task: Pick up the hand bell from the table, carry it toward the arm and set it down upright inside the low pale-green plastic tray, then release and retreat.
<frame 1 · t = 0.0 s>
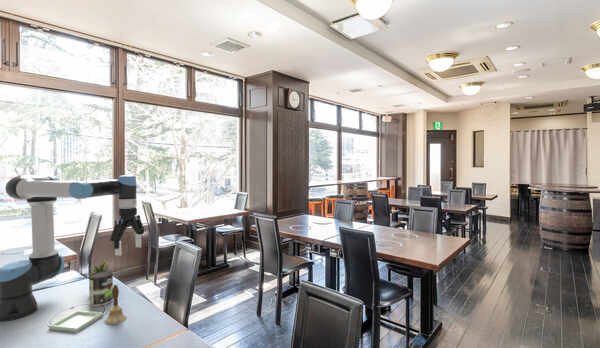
hand: (128, 251, 147), 28 cm above the table, fingers open, 13 cm apart
house plant: (100, 290, 169), on the table
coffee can: (101, 301, 155), on the table
tray: (77, 322, 134), on the table
hand bell: (115, 320, 137), on the table
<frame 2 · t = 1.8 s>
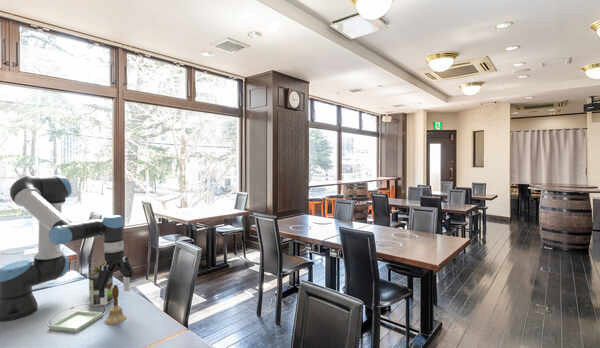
hand: (115, 297, 136), 10 cm above the table, fingers open, 13 cm apart
nothing on the table moved.
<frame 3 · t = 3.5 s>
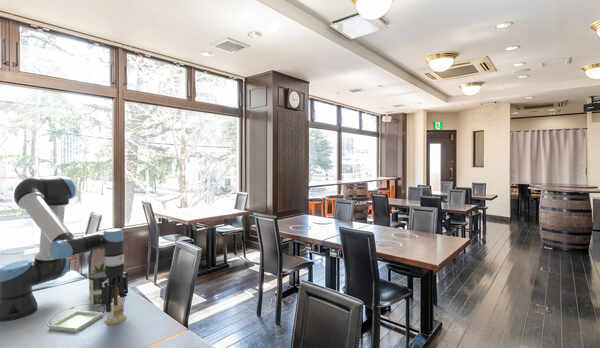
hand: (115, 314, 137), 2 cm above the table, fingers closed on hand bell, 6 cm apart
hand bell: (115, 320, 137), on the table, touching gripper
everything else where it was.
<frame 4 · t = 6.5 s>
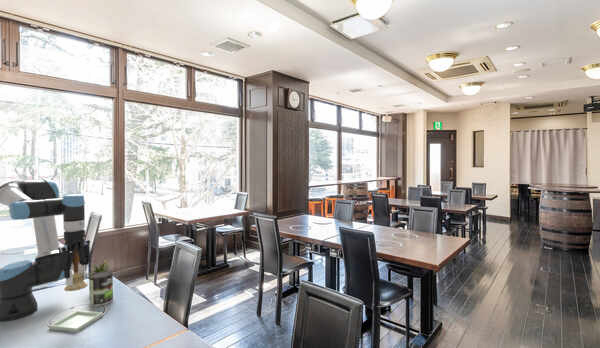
hand: (76, 282, 134), 18 cm above the table, fingers closed on hand bell, 6 cm apart
hand bell: (76, 287, 134), point 16 cm above the table, touching gripper
everything else where it was.
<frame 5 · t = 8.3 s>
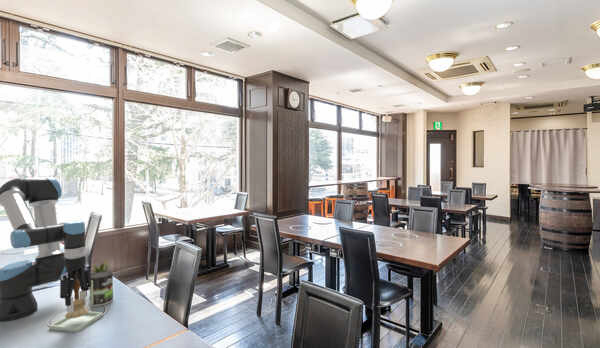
hand: (76, 308, 134), 6 cm above the table, fingers closed on hand bell, 6 cm apart
hand bell: (77, 314, 134), point 4 cm above the table, touching gripper
everything else where it was.
when the fingers open (4 cm above the table, at t = 9.6 s): hand bell drops 1 cm, resting on tray.
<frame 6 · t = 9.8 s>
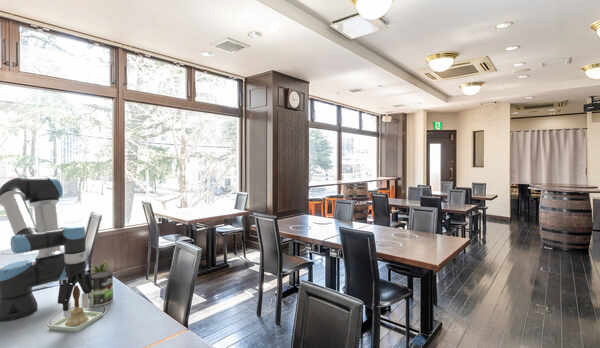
hand: (76, 312, 134), 5 cm above the table, fingers open, 8 cm apart
hand bell: (77, 321, 134), resting on tray
everything else where it was.
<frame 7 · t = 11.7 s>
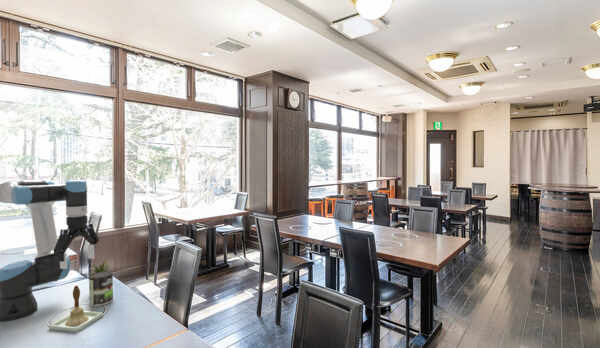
hand: (78, 263, 134), 26 cm above the table, fingers open, 13 cm apart
nothing on the table moved.
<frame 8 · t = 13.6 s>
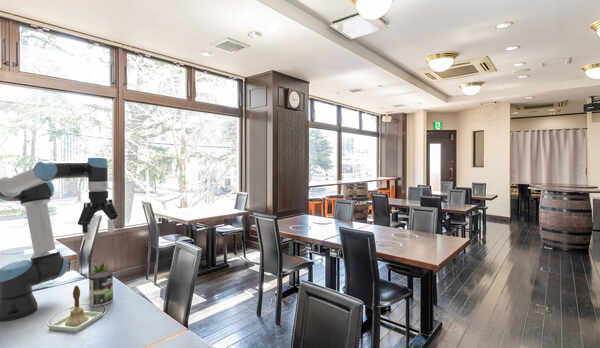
hand: (99, 236, 141), 37 cm above the table, fingers open, 13 cm apart
nothing on the table moved.
at the end: hand bell inside the target area on the tray (0.0 cm from its centre), point 0.4 cm above the tray's base; hand bell tilted 0°; the gripper is holding nothing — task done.
